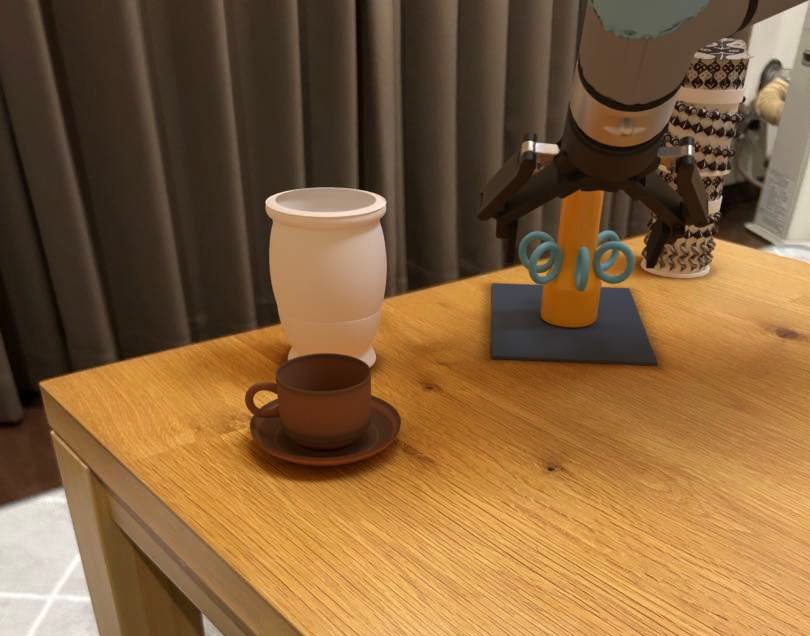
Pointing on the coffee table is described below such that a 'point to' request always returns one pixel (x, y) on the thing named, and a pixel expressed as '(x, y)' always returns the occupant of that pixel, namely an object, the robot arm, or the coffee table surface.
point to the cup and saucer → (322, 412)
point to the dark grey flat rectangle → (567, 329)
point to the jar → (328, 269)
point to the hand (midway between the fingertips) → (579, 253)
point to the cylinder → (575, 262)
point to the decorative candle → (704, 147)
